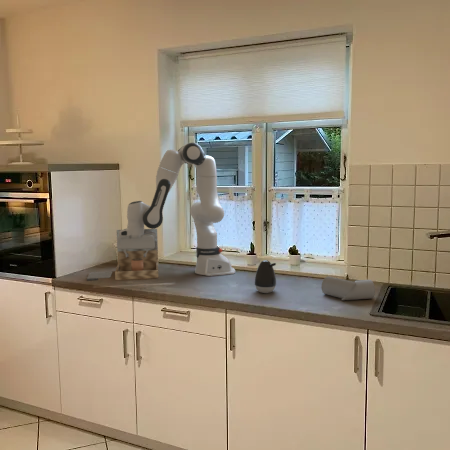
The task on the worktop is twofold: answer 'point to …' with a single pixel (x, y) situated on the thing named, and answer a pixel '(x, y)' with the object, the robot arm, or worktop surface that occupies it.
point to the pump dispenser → (265, 277)
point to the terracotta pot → (137, 264)
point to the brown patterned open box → (124, 262)
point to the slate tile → (99, 275)
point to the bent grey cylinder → (348, 288)
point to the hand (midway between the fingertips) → (136, 257)
